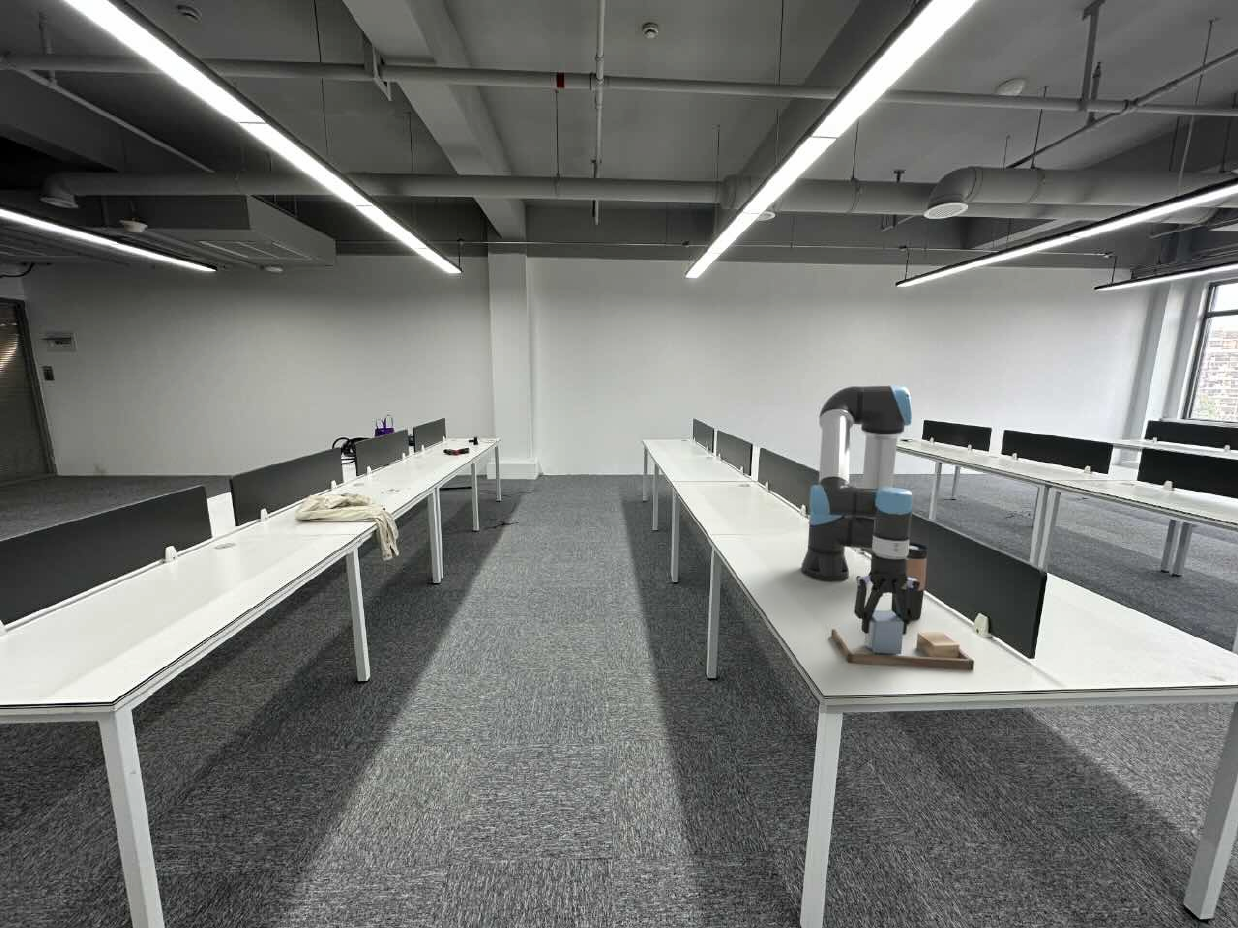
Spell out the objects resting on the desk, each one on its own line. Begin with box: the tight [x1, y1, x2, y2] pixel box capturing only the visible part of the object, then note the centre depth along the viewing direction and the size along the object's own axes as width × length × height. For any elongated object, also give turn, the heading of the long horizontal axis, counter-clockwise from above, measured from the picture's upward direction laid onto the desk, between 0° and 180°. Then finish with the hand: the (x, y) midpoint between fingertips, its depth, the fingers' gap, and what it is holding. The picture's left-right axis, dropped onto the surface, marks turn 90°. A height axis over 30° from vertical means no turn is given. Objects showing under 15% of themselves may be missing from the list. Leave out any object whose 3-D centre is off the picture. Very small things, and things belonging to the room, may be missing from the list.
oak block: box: [916, 631, 961, 659], centre depth 116 cm, size 6×6×4 cm
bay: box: [830, 629, 975, 670], centre depth 117 cm, size 12×27×2 cm, turn 84°
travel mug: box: [890, 541, 928, 621], centre depth 135 cm, size 8×8×20 cm
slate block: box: [870, 609, 904, 655], centre depth 117 cm, size 6×6×8 cm
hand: (882, 645), depth 117 cm, fingers closed on slate block, 6 cm apart
